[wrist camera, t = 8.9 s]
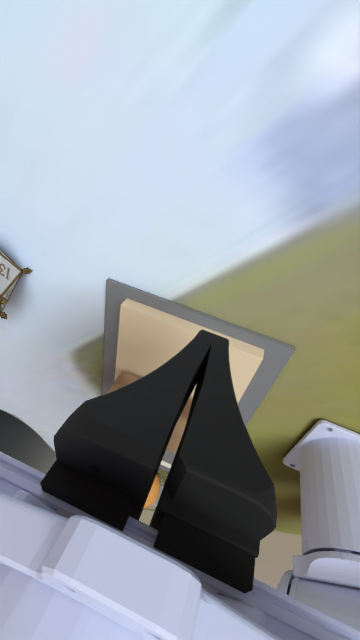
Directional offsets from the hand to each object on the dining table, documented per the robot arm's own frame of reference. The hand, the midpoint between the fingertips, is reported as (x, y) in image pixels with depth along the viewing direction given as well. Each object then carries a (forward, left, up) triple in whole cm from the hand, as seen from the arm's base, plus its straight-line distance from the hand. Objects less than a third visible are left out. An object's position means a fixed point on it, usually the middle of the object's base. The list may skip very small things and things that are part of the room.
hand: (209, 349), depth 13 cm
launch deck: (+2, +21, -8) cm, 23 cm away
